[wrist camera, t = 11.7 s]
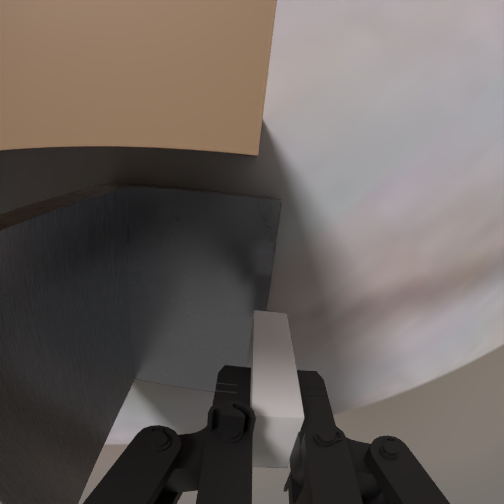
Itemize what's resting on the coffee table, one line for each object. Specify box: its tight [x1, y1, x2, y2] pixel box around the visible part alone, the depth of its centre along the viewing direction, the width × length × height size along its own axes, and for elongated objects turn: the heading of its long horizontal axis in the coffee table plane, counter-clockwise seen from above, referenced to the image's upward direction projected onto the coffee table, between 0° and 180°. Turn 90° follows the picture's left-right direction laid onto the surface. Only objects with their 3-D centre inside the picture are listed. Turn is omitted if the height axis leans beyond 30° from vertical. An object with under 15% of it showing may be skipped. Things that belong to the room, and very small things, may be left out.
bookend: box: [0, 184, 281, 504], centre depth 11 cm, size 9×12×14 cm
